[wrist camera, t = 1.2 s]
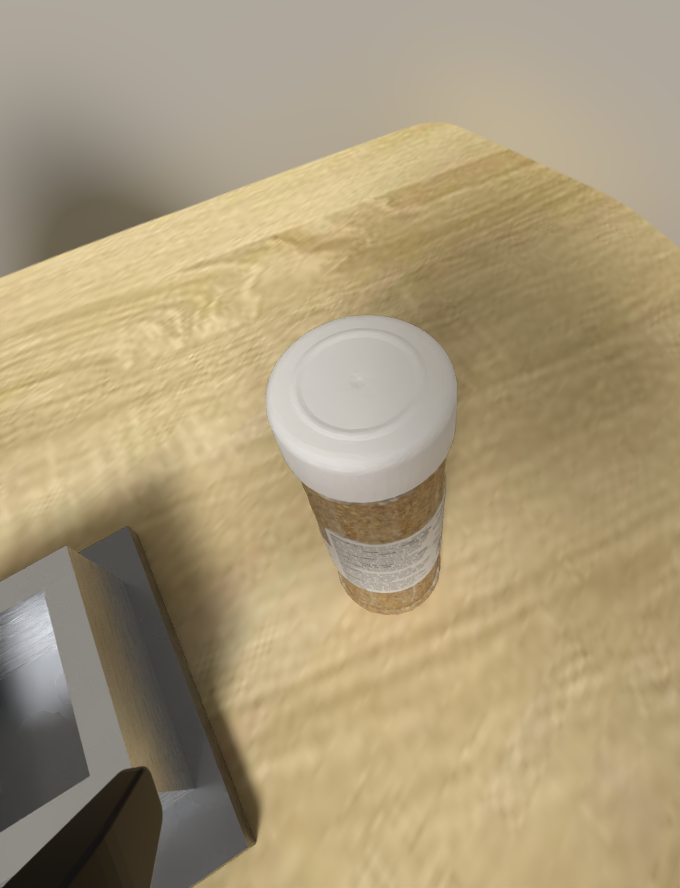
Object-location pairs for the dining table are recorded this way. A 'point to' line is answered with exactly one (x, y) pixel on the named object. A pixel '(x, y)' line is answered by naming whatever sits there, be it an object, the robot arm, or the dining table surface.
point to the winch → (105, 711)
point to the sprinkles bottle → (370, 450)
